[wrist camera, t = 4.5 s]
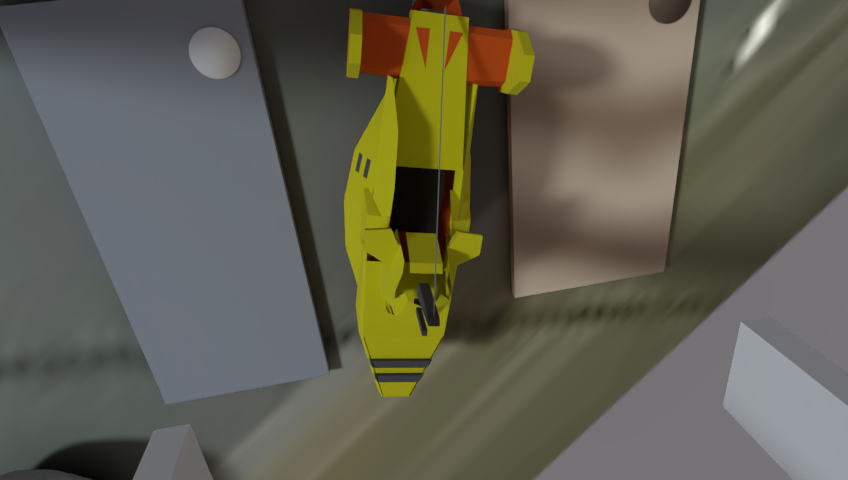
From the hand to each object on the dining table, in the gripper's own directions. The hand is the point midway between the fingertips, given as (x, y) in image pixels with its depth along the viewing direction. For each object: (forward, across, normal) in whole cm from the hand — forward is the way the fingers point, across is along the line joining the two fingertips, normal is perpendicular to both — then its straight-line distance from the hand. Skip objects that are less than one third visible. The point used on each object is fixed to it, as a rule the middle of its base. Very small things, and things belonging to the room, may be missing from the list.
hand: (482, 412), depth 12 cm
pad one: (+15, -10, 0) cm, 18 cm away
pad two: (+15, +10, +3) cm, 18 cm away
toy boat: (+15, 0, 0) cm, 15 cm away
